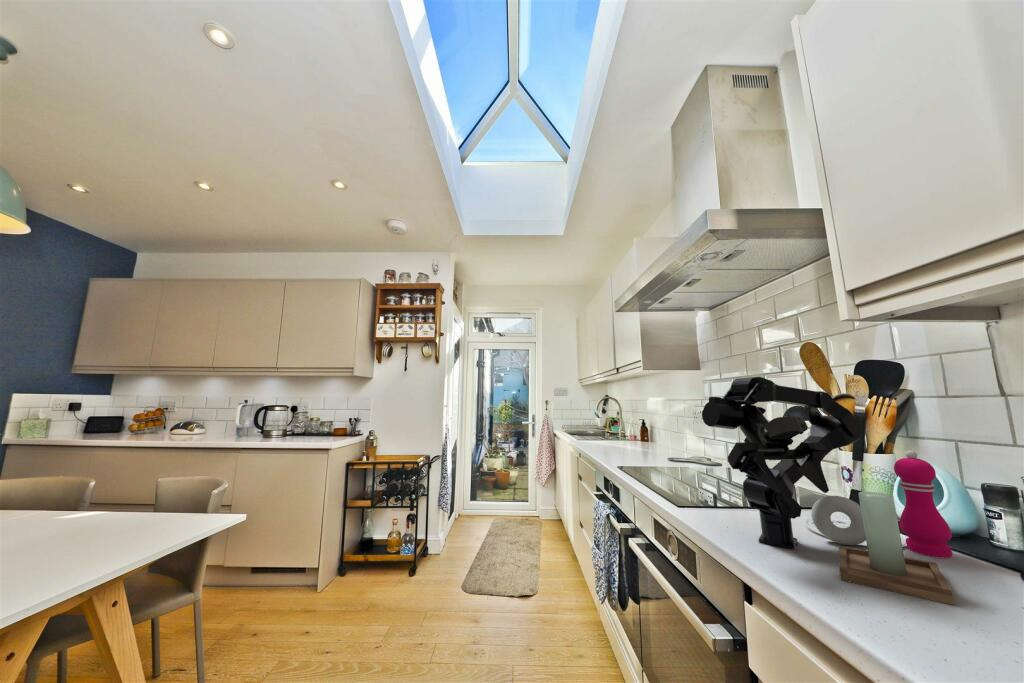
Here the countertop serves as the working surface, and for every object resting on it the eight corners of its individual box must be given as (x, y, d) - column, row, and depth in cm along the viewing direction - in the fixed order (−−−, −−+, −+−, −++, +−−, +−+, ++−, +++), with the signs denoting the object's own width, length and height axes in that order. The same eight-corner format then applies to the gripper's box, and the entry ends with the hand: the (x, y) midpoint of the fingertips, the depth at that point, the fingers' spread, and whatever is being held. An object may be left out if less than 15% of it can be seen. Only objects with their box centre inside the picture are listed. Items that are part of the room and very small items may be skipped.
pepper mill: (900, 542, 81) (884, 447, 84) (951, 550, 77) (931, 449, 80) (906, 553, 76) (888, 451, 79) (961, 562, 71) (939, 453, 74)
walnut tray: (841, 556, 75) (839, 545, 75) (938, 574, 66) (935, 562, 67) (841, 579, 65) (839, 567, 65) (954, 605, 57) (952, 590, 57)
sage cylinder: (863, 563, 68) (851, 491, 70) (891, 564, 68) (878, 491, 70) (885, 575, 64) (871, 498, 66) (915, 575, 63) (900, 498, 65)
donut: (875, 547, 79) (867, 497, 80) (877, 552, 76) (868, 500, 78) (814, 537, 85) (808, 491, 87) (814, 541, 82) (807, 494, 84)
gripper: (730, 402, 79) (777, 466, 66) (814, 403, 80) (876, 465, 67) (711, 438, 85) (750, 502, 72) (789, 437, 86) (841, 500, 74)
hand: (804, 492), depth 71 cm, fingers open, 9 cm apart
